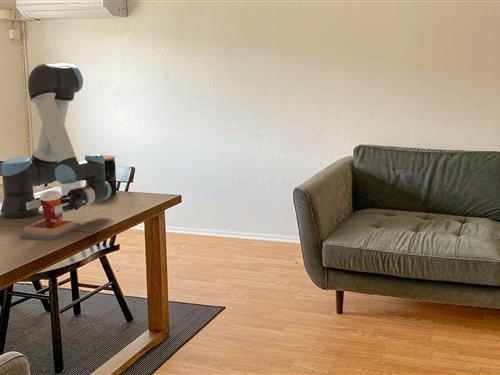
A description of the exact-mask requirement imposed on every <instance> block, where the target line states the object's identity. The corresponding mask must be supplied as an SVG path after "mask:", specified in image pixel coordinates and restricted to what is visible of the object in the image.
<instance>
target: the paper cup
mask: <svg viewBox="0 0 500 375" xmlns="http://www.w3.org/2000/svg"><path fill="white" fill-rule="evenodd" d="M61 197H62V193H61V192H60V191H57V190H48V191H44V192H41V194H40V196H39V198H40V200H41V203H42V206H41V209H42V212H43V213H42V214H43V217H44V219H45V223H46V227H47V228H49V229H54V228H56V227H58V226H61V225H63V223H62V220H63V212H61V213H58V214H55V209H54V206H57V205H61Z"/></svg>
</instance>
